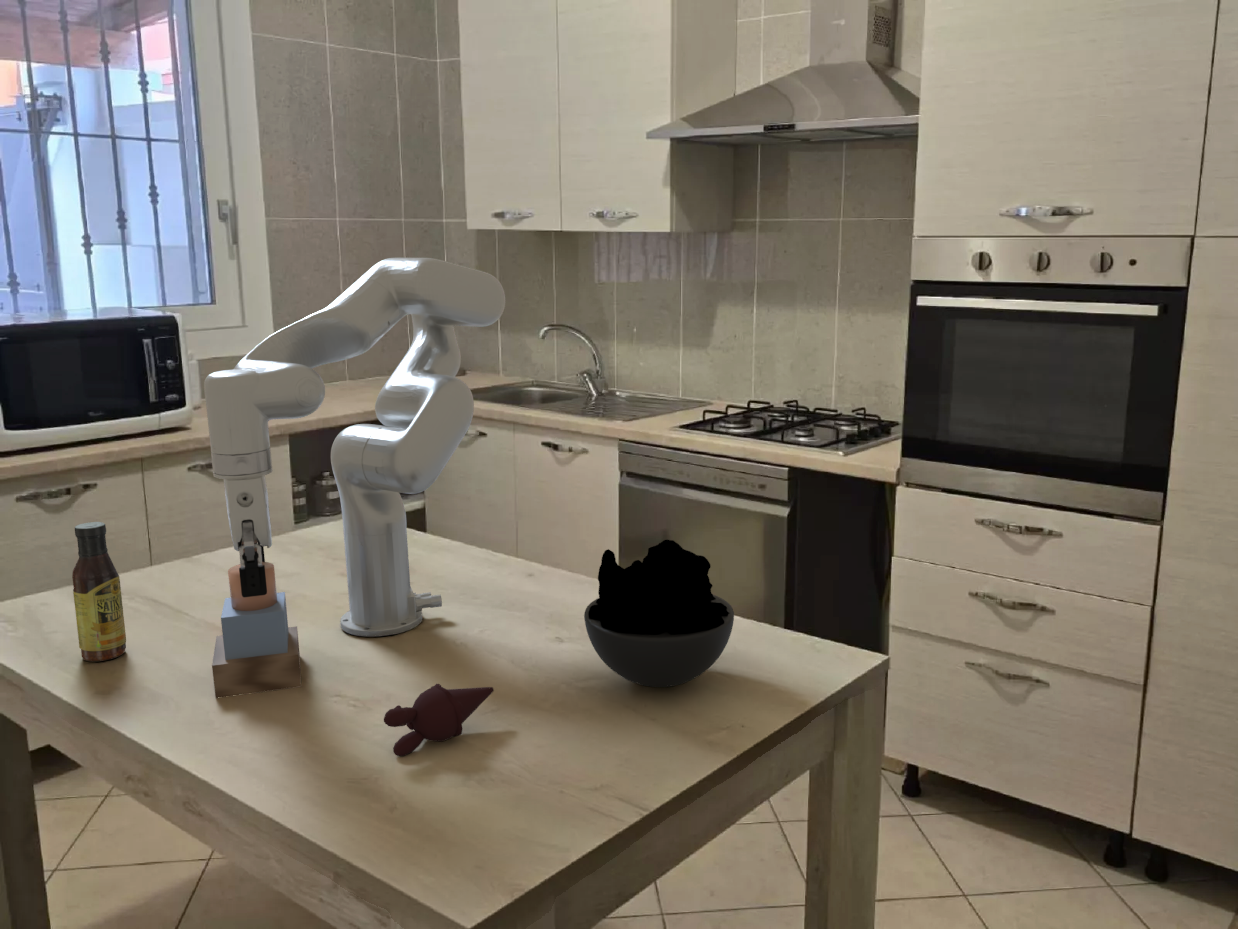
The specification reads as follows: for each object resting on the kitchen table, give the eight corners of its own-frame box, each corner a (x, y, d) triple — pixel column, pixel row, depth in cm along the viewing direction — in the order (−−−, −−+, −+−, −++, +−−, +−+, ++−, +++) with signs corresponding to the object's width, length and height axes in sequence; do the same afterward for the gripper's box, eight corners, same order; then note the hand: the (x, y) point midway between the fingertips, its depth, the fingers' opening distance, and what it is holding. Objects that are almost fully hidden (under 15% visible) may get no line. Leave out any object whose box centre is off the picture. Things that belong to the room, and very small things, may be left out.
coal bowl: (748, 661, 152) (749, 533, 148) (711, 722, 134) (711, 578, 130) (615, 645, 159) (613, 522, 155) (563, 701, 141) (558, 564, 137)
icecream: (470, 660, 139) (366, 706, 129) (501, 663, 133) (395, 711, 123) (484, 711, 139) (382, 761, 130) (516, 717, 134) (412, 768, 124)
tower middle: (288, 631, 154) (284, 591, 153) (287, 652, 147) (283, 611, 146) (229, 638, 152) (225, 598, 151) (225, 660, 145) (220, 617, 143)
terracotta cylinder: (276, 593, 152) (273, 559, 151) (278, 607, 147) (274, 572, 146) (231, 598, 151) (228, 564, 149) (231, 613, 145) (227, 577, 144)
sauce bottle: (109, 665, 156) (91, 532, 151) (71, 662, 157) (52, 531, 152) (138, 647, 162) (121, 520, 157) (101, 645, 163) (84, 518, 159)
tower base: (300, 658, 158) (297, 626, 156) (301, 688, 147) (298, 654, 146) (220, 668, 154) (216, 636, 153) (215, 700, 144) (211, 665, 143)
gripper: (273, 473, 138) (285, 601, 142) (270, 448, 154) (280, 562, 158) (210, 479, 135) (224, 608, 139) (214, 452, 151) (226, 569, 155)
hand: (254, 584), depth 148 cm, fingers open, 9 cm apart
